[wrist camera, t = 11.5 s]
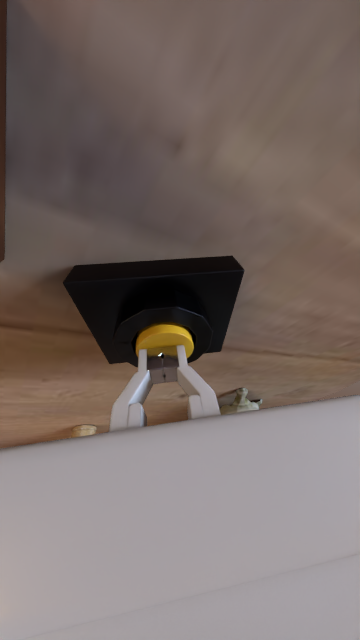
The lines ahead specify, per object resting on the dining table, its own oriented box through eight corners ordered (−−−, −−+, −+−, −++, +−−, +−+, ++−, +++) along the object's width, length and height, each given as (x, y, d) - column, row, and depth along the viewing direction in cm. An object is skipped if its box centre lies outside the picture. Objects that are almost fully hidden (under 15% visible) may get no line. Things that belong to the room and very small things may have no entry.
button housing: (232, 255, 12) (258, 285, 9) (214, 335, 18) (226, 367, 16) (74, 265, 11) (47, 302, 8) (113, 345, 17) (105, 382, 15)
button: (189, 307, 12) (195, 329, 10) (188, 342, 14) (192, 363, 13) (132, 313, 11) (129, 336, 10) (141, 347, 14) (141, 369, 13)
